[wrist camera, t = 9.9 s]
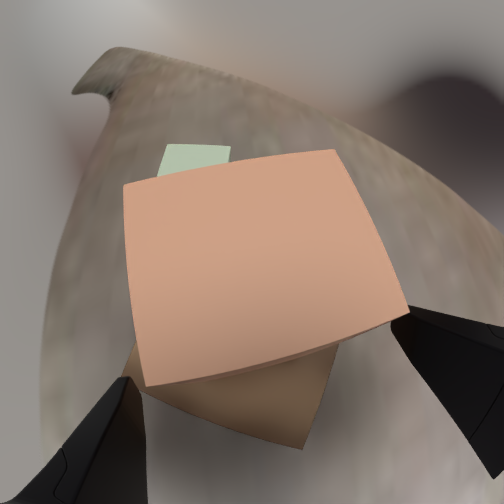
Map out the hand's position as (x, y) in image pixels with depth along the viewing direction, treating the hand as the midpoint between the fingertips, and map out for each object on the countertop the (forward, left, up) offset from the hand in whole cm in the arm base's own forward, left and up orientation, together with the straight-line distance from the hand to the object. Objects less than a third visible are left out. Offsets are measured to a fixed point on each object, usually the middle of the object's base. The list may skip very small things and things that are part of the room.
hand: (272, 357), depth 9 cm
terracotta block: (+2, +1, -9) cm, 9 cm away
